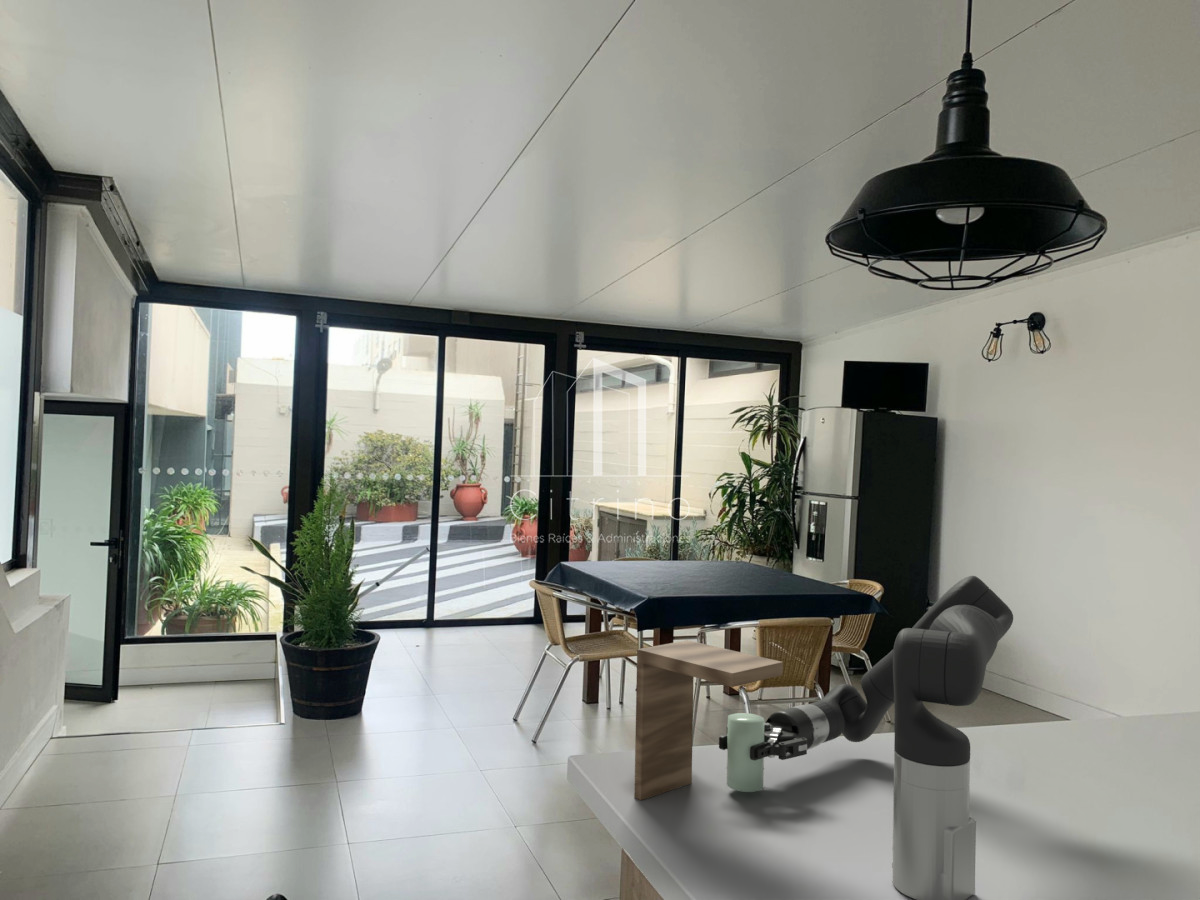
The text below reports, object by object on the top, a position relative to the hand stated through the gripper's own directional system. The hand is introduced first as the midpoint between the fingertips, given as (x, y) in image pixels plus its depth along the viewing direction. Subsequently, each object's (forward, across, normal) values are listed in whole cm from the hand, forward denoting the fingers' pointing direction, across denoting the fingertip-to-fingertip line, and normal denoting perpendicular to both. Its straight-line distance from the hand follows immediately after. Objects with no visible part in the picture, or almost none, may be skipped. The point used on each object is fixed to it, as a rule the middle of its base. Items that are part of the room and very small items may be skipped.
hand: (736, 748), depth 143 cm
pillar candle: (-2, 0, +6) cm, 7 cm away
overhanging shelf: (+7, 0, +8) cm, 11 cm away
